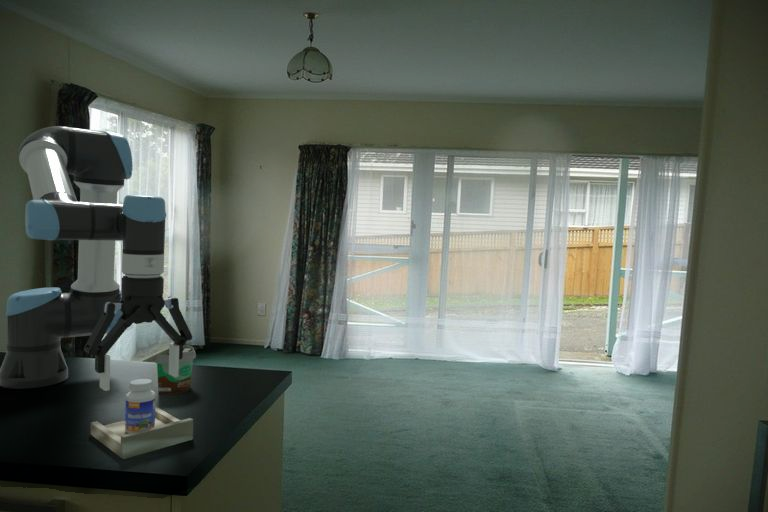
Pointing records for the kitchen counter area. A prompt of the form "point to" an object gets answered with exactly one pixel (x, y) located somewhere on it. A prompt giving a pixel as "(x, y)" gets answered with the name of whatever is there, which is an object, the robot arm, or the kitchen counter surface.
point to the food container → (183, 381)
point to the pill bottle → (140, 406)
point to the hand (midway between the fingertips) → (140, 381)
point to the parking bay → (143, 435)
